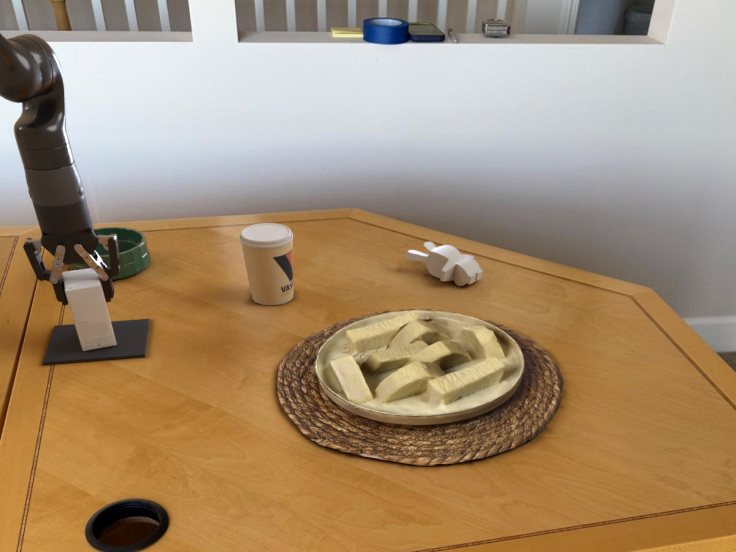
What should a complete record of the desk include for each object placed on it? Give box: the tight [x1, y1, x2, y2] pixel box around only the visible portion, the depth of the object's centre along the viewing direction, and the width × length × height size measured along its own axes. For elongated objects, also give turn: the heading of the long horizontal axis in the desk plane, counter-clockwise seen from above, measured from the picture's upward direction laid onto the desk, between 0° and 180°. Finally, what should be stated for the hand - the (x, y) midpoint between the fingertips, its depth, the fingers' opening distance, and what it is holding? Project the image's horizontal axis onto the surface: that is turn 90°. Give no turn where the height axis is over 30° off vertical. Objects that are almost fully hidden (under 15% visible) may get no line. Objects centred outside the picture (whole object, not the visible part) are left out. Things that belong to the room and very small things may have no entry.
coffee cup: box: [239, 222, 294, 306], centre depth 140 cm, size 9×9×12 cm
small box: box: [61, 268, 117, 351], centre depth 127 cm, size 8×6×10 cm
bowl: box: [68, 226, 151, 281], centre depth 152 cm, size 15×15×5 cm
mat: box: [42, 318, 151, 366], centre depth 130 cm, size 16×13×1 cm
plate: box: [276, 308, 564, 467], centre depth 120 cm, size 45×45×7 cm
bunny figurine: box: [405, 241, 484, 287], centre depth 150 cm, size 10×5×15 cm
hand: (87, 301), depth 126 cm, fingers closed on small box, 6 cm apart
